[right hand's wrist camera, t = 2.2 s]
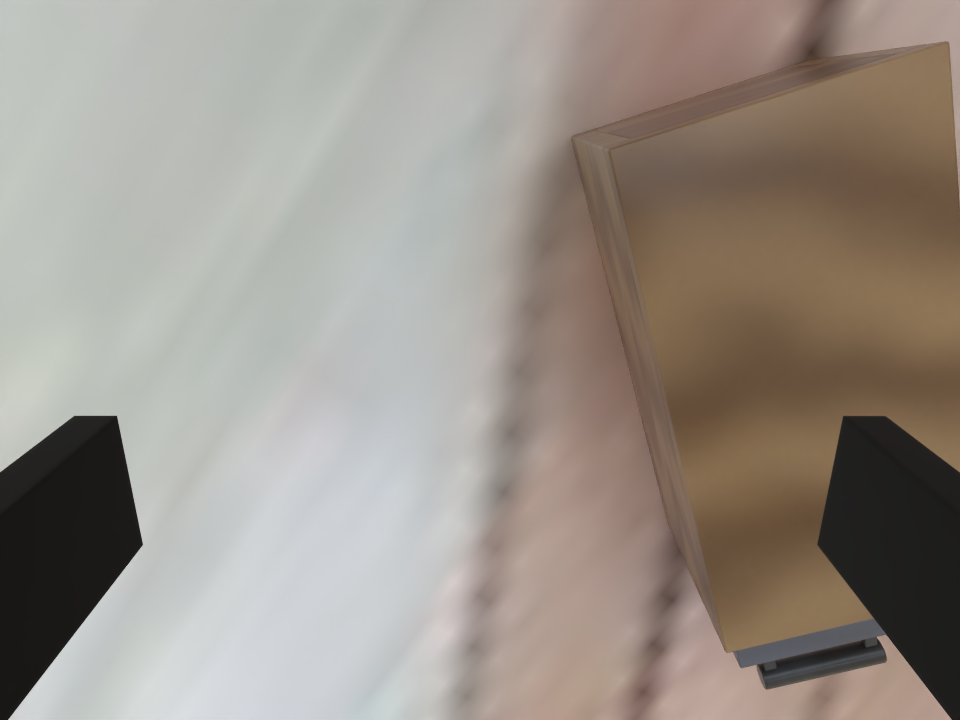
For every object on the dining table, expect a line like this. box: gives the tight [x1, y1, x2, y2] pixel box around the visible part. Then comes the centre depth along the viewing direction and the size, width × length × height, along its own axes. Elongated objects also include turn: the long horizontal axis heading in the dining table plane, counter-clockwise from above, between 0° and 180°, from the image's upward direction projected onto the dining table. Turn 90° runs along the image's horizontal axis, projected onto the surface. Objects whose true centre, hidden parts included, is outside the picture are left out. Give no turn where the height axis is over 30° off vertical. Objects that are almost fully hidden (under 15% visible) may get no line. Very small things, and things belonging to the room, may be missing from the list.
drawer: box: [733, 619, 887, 690], centre depth 30 cm, size 25×9×7 cm, turn 17°
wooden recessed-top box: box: [571, 42, 960, 653], centre depth 28 cm, size 20×10×9 cm, turn 17°
